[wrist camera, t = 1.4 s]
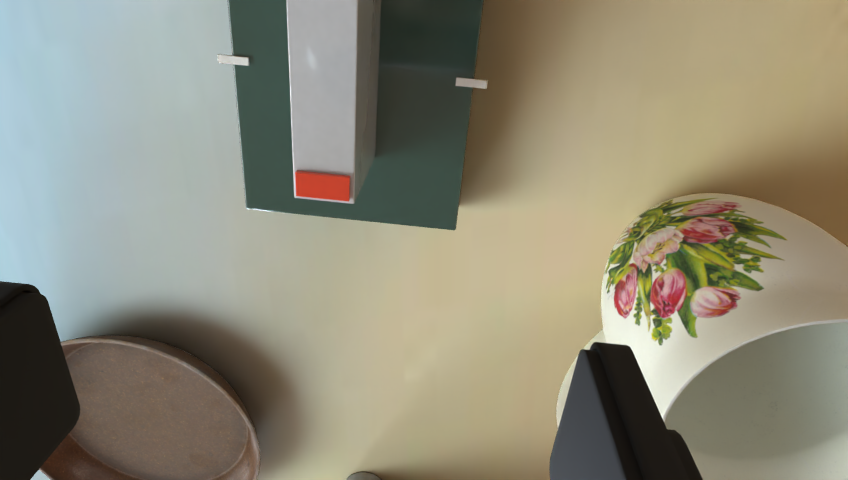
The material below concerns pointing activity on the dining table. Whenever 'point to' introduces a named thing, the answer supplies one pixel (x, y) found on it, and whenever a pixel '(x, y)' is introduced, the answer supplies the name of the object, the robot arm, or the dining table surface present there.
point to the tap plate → (396, 111)
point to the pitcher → (736, 334)
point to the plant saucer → (151, 416)
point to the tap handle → (333, 95)
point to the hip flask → (363, 476)
